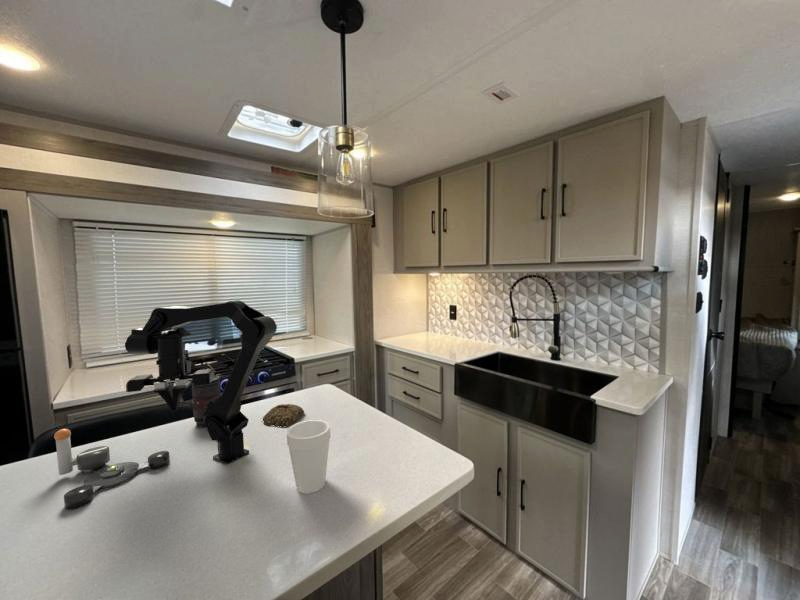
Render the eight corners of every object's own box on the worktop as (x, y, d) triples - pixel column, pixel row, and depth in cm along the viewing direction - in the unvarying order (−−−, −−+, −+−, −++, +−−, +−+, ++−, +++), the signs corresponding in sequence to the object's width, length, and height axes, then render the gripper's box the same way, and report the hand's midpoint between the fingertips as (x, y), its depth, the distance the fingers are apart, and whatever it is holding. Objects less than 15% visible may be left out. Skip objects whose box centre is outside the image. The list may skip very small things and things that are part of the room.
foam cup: (339, 476, 78) (337, 422, 77) (317, 501, 69) (314, 441, 68) (305, 469, 81) (303, 417, 80) (280, 493, 72) (277, 435, 71)
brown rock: (309, 413, 116) (308, 399, 115) (289, 429, 104) (288, 413, 103) (276, 410, 119) (276, 397, 118) (253, 425, 106) (253, 410, 106)
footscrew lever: (109, 454, 87) (106, 415, 87) (110, 463, 83) (107, 422, 82) (58, 469, 81) (54, 427, 80) (56, 479, 76) (52, 435, 76)
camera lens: (209, 429, 104) (206, 382, 103) (187, 427, 106) (185, 381, 105) (227, 418, 112) (225, 375, 111) (207, 417, 114) (204, 374, 113)
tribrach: (174, 463, 85) (173, 453, 85) (69, 512, 67) (68, 500, 67) (138, 447, 93) (138, 438, 93) (37, 488, 76) (36, 477, 75)
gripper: (217, 345, 98) (220, 396, 99) (142, 350, 92) (146, 405, 93) (207, 353, 87) (211, 410, 88) (122, 359, 82) (127, 421, 83)
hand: (174, 411), depth 88 cm, fingers closed
